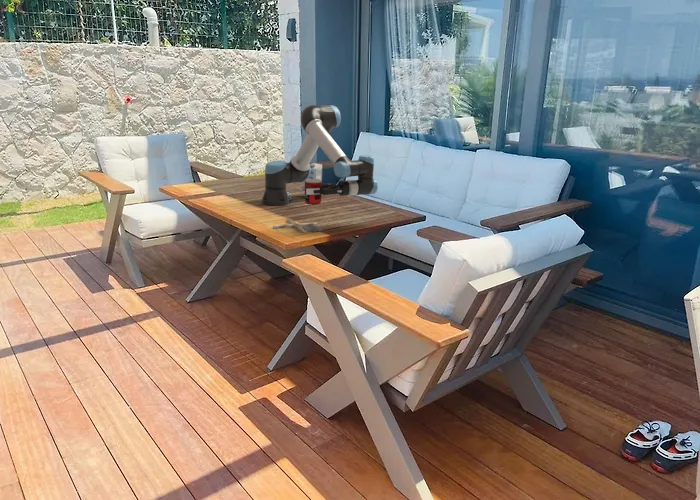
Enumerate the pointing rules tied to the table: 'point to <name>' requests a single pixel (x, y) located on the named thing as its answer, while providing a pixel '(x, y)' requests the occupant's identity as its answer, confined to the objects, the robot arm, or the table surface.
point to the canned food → (314, 197)
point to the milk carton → (316, 171)
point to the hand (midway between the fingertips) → (303, 189)
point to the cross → (299, 226)
